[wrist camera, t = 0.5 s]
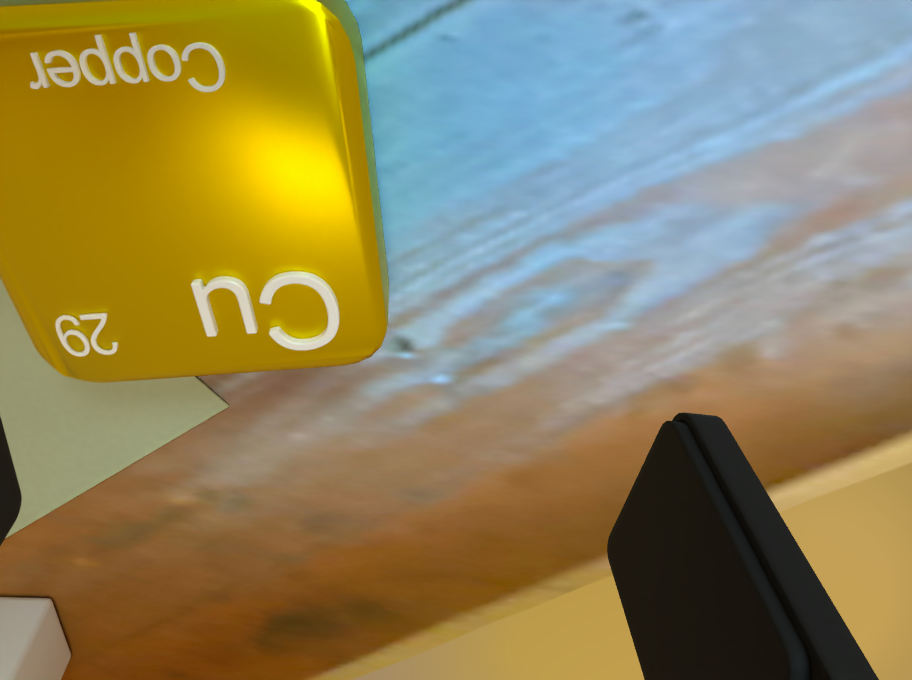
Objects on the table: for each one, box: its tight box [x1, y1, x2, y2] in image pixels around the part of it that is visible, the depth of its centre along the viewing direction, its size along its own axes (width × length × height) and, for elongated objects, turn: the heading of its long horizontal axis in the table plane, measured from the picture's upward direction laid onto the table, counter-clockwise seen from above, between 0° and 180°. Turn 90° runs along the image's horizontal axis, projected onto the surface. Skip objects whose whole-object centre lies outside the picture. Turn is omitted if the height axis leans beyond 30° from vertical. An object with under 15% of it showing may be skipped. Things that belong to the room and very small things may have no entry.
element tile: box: [0, 0, 389, 383], centre depth 26 cm, size 15×15×5 cm
